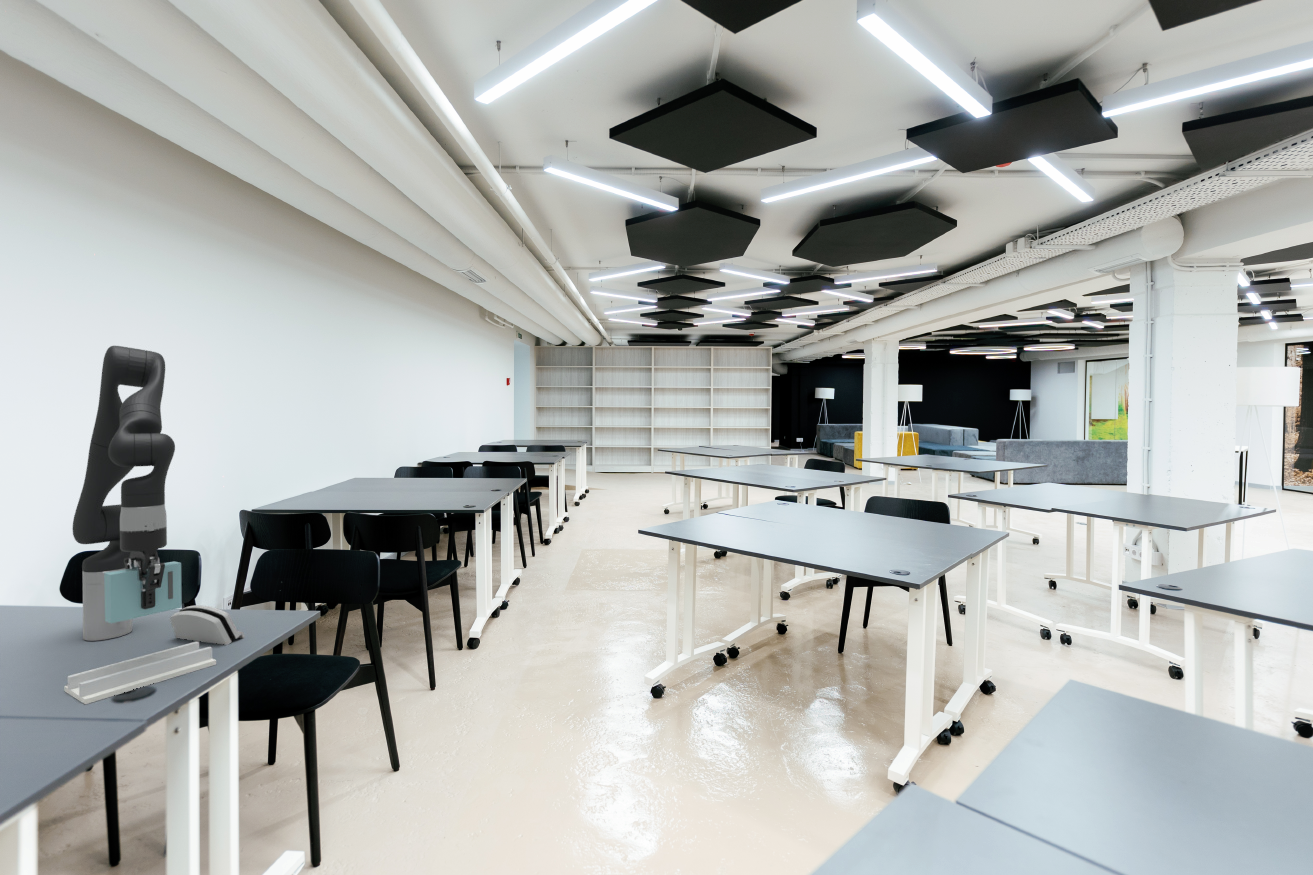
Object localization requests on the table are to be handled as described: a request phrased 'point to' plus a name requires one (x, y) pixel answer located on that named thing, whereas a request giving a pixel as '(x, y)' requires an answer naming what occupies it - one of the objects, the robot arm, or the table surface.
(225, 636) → the grey arched block
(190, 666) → the door track
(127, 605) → the door panel
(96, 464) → the robot arm
